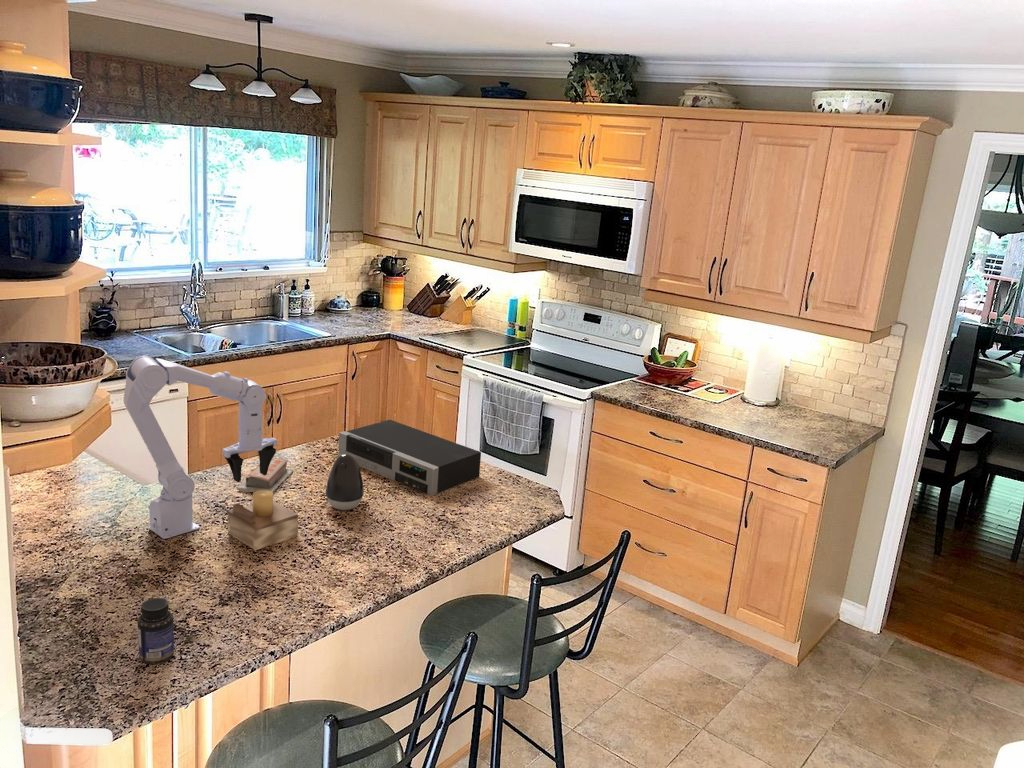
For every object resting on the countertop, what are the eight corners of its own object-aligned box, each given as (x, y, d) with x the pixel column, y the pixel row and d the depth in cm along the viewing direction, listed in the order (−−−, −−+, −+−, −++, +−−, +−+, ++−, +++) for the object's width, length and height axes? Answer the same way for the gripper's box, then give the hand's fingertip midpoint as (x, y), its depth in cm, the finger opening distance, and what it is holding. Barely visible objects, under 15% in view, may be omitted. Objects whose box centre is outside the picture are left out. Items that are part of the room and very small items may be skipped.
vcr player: (479, 478, 257) (481, 451, 254) (423, 500, 237) (425, 471, 235) (387, 443, 279) (389, 418, 277) (330, 461, 260) (331, 434, 258)
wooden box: (255, 550, 200) (255, 531, 198) (228, 532, 207) (228, 514, 206) (297, 536, 209) (297, 517, 207) (270, 519, 216) (270, 502, 215)
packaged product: (261, 454, 248) (293, 458, 247) (261, 469, 249) (293, 473, 248) (236, 476, 230) (271, 480, 230) (236, 492, 232) (271, 496, 231)
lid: (255, 530, 198) (255, 518, 198) (228, 514, 206) (228, 502, 205) (297, 517, 207) (298, 505, 206) (270, 501, 215) (270, 490, 214)
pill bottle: (181, 651, 159) (180, 600, 156) (158, 669, 153) (156, 616, 150) (155, 643, 161) (153, 592, 158) (131, 660, 155) (129, 607, 152)
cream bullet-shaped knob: (259, 518, 203) (259, 499, 202) (248, 511, 206) (249, 493, 205) (276, 513, 206) (276, 495, 205) (266, 506, 210) (266, 488, 208)
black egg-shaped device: (321, 513, 223) (323, 460, 218) (328, 497, 233) (330, 446, 228) (360, 515, 223) (362, 462, 219) (365, 500, 233) (367, 449, 229)
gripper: (233, 437, 204) (233, 488, 208) (284, 426, 215) (283, 475, 218) (218, 429, 208) (218, 480, 212) (268, 419, 219) (268, 467, 223)
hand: (250, 477), depth 215 cm, fingers open, 7 cm apart
